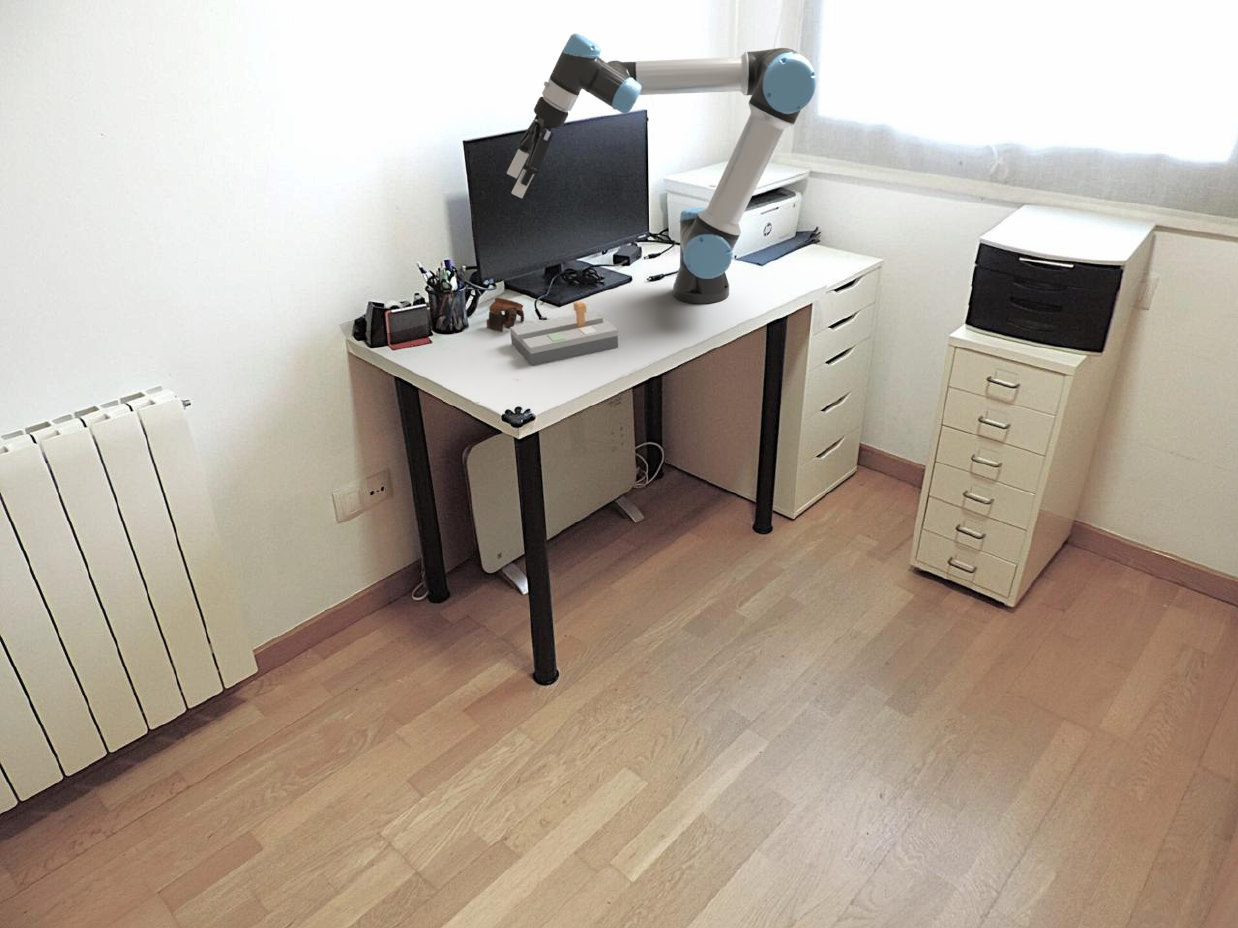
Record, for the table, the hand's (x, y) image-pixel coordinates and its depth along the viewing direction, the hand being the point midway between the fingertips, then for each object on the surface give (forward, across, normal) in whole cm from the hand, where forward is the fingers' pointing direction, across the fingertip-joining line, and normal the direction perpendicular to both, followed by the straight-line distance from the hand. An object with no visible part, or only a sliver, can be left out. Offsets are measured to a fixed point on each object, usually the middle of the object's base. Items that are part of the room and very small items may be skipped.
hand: (514, 185), depth 215 cm
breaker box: (+23, +25, +22) cm, 40 cm away
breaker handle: (+18, +23, +24) cm, 38 cm away
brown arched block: (+31, +9, +12) cm, 35 cm away
